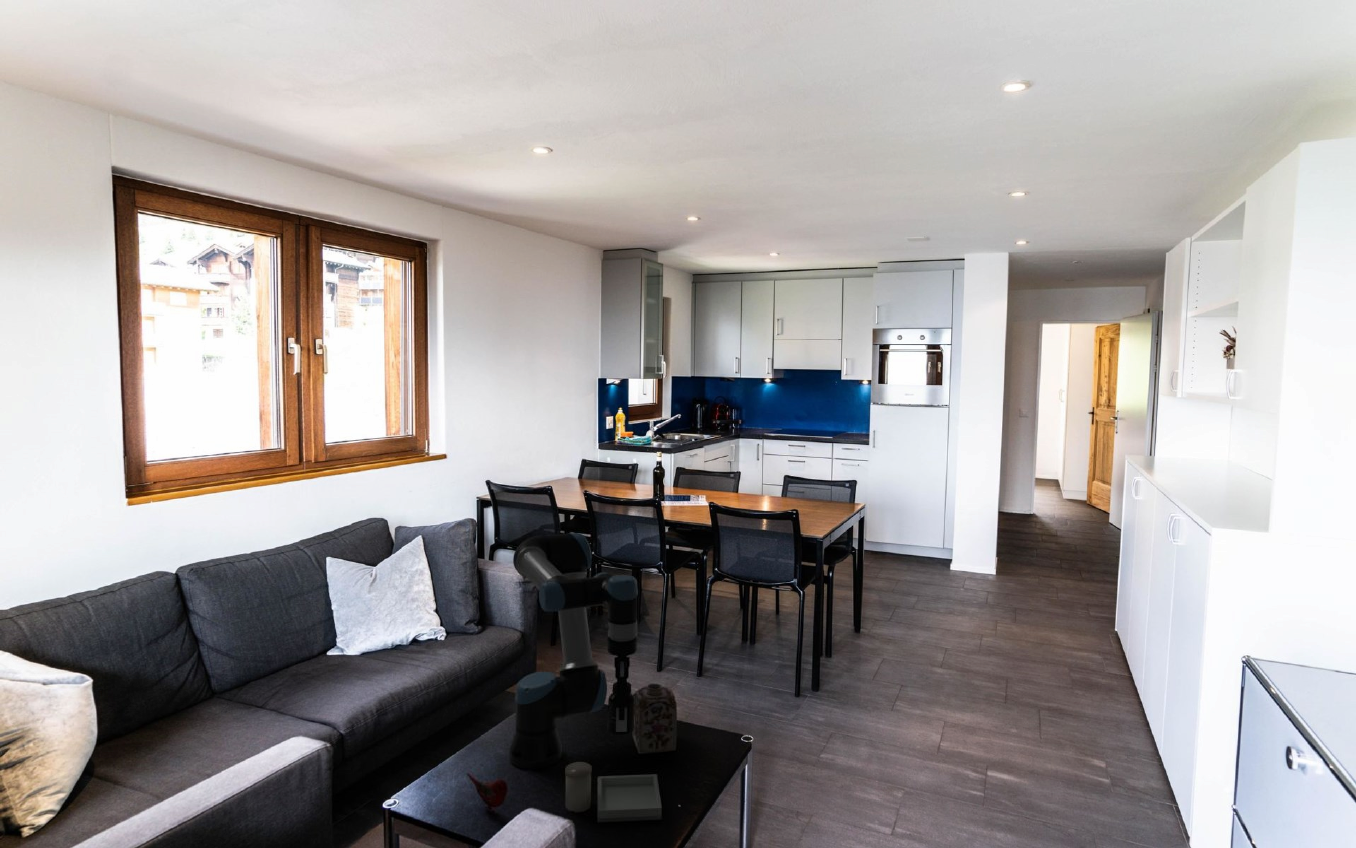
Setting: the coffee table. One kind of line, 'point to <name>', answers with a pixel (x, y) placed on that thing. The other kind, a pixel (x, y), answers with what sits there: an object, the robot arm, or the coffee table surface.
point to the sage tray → (628, 798)
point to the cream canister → (578, 786)
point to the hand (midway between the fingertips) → (621, 724)
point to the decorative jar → (655, 719)
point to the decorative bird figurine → (491, 792)
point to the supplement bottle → (612, 711)
